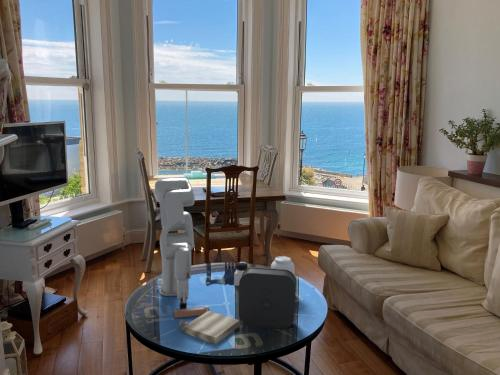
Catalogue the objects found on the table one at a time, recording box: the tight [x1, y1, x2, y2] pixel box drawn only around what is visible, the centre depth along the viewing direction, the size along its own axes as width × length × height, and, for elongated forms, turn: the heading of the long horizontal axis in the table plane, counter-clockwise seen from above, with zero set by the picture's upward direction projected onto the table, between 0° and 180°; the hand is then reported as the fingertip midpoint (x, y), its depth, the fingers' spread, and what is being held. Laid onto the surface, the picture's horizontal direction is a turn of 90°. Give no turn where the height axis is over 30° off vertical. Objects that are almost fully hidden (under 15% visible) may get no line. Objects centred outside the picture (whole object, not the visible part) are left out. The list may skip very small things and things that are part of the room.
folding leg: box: [173, 305, 210, 319], centre depth 205 cm, size 16×3×4 cm, turn 104°
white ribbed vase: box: [270, 255, 296, 275], centre depth 230 cm, size 12×12×20 cm
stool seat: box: [178, 311, 240, 345], centre depth 193 cm, size 21×18×4 cm
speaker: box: [238, 266, 297, 329], centre depth 197 cm, size 25×9×25 cm, turn 82°
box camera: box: [233, 261, 248, 287], centre depth 243 cm, size 7×7×12 cm
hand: (183, 310), depth 207 cm, fingers closed
